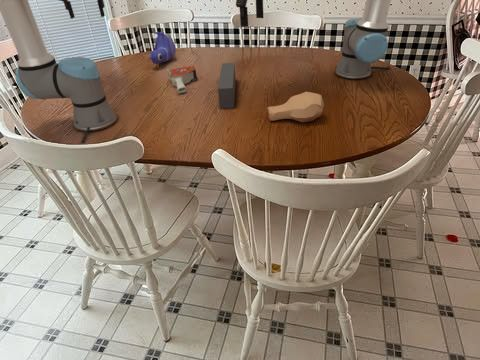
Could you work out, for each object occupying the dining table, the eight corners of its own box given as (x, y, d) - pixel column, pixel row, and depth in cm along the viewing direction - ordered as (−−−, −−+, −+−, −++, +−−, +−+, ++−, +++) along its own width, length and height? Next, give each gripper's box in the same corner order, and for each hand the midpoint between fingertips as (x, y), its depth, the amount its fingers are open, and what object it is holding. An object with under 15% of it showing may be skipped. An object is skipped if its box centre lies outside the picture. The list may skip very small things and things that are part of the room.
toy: (164, 64, 198) (143, 70, 176) (159, 31, 191) (137, 33, 169) (180, 63, 196) (162, 69, 173) (176, 30, 189) (156, 32, 167)
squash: (327, 123, 123) (327, 101, 117) (270, 133, 125) (267, 112, 119) (321, 105, 131) (320, 84, 124) (267, 115, 133) (264, 94, 126)
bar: (234, 107, 137) (232, 87, 133) (219, 108, 138) (218, 88, 133) (235, 80, 161) (234, 62, 156) (223, 81, 161) (222, 63, 156)
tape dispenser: (182, 98, 151) (209, 79, 163) (180, 86, 147) (208, 68, 160) (151, 89, 158) (180, 72, 171) (149, 78, 155) (178, 61, 167)
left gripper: (105, -42, 147) (118, 13, 159) (46, -39, 148) (63, 16, 160) (99, -41, 141) (113, 17, 153) (37, -37, 142) (56, 20, 154)
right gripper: (255, -48, 132) (257, 14, 144) (222, -40, 114) (228, 29, 127) (273, -49, 129) (274, 14, 141) (243, -41, 111) (246, 30, 124)
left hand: (87, 17), depth 157 cm, fingers open, 13 cm apart
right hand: (252, 22), depth 134 cm, fingers open, 13 cm apart
